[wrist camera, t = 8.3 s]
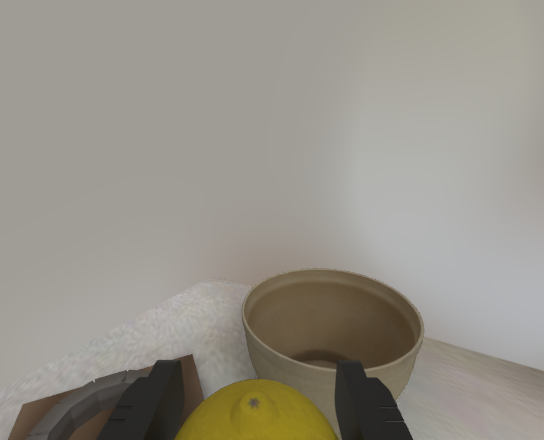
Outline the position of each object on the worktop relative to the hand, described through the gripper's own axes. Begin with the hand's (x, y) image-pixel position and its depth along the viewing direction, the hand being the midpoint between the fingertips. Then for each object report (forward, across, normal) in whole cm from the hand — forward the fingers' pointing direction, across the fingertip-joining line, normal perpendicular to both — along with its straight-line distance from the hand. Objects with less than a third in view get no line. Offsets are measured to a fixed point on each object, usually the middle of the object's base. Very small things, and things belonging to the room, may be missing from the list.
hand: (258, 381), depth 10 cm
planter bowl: (+16, -6, +18) cm, 24 cm away
